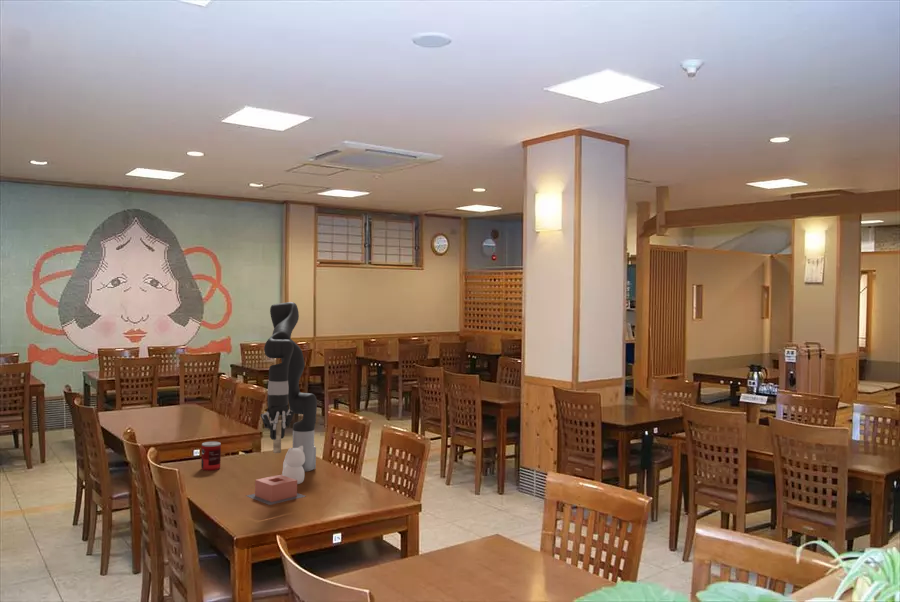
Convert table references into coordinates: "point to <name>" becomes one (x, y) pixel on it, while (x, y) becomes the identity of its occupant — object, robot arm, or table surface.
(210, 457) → the canned food
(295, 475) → the cat figurine
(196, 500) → the table surface
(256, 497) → the mat
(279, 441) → the grey beige cylinder
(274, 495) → the pink square peg base
